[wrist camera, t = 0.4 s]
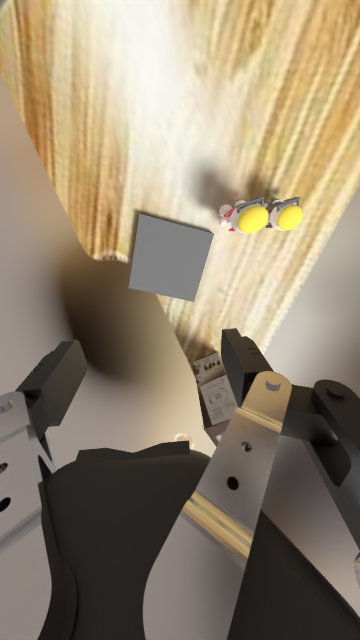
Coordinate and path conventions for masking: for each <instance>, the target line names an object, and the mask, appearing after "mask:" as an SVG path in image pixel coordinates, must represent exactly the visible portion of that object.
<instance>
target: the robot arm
mask: <svg viewBox="0 0 360 640" xmlns="http://www.w3.org/2000/svg"><path fill="white" fill-rule="evenodd" d="M221 359H222V363H223V366H224V369H225V371H226V374H227V377H228V380H229V382H230V385H231V388H232V391H233V393H234V396H235V399H236V402H237V404H238V407H237V408H236V410H235V412H234V414H233V416H232V418H231V420H230V422H229V424H228V426H227V428H226V430H225V432H224V434H223V436H222V438H221V440H220V442H219V444H218V446H217V448H216V450H215V452H214V454H213V456H212V458H210V457H209V456H207V455H205V454H203V453H201V452H198V451H195V450H190V447H189V441H179V442H168V443H161V444H158V445H155V446H152V447H149V448H146V449H144V450H141V451H138V452H135V453H130V452H125V451H119V450H114V449H109V448H99V449H88V450H79V453H78V455H77V458H76V461H73V462H71V463H69V464H67V465H65V466H63V467H61V468H60V469H58V470H57V467H56V464H55V460H54V457H53V453H52V450H51V447H50V443H49V439H48V436H47V434H46V430H47V428H48V427H51V426H59V425H60V424H61V421H62V420H63V418H64V416H65V414H66V411H67V410H68V408H69V406H70V404H71V402H72V399H73V398H74V396H75V393H76V392H77V390H78V388H79V385H80V384H81V382H82V380H83V378H84V376H85V373H86V370H87V363H86V360H85V357H84V354H83V351H82V348H81V345H80V343H79V341H77V340H72V341H62V342H61V343H60V344H59V345H58V347H57V348H56V349H55V350H54V351H52V352H50V353H49V354H47V355H46V356H45V357H43V359H42V360H41V361H40V362H39V363H38V366H36V367H35V368H34V369H33V371H32V372H31V373H30V374H29V375H28V376H27V378H26V379H25V380H24V381H23V382H22V384H21V385H20V386H19V387H18V388H17V389H16V391H15V392H9V393H6V394H4V395H1V396H0V640H360V617H359V616H358V615H357V613H356V612H355V611H354V609H353V608H352V607H351V606H350V605H349V604H348V602H347V601H346V600H345V599H344V598H343V597H342V596H341V595H340V593H339V592H338V591H337V590H336V589H335V588H334V587H333V586H332V585H331V584H330V583H329V582H328V581H327V579H326V578H325V577H324V576H323V575H322V574H321V573H320V572H319V571H318V570H317V569H316V568H315V566H314V565H313V564H312V563H311V562H310V561H309V560H308V559H307V558H306V557H305V556H304V555H303V554H302V552H301V551H299V549H298V548H297V547H296V546H295V545H294V544H293V543H292V542H291V541H290V540H289V538H288V537H287V536H286V535H285V534H284V533H283V532H282V531H281V530H280V529H279V528H278V527H277V525H276V524H275V523H274V522H273V521H272V520H271V519H270V518H269V517H268V516H267V515H266V514H265V513H264V511H263V510H262V509H261V505H262V501H263V497H264V494H265V490H266V486H267V482H268V479H269V475H270V471H271V467H272V463H273V459H274V456H275V452H276V448H277V444H278V440H279V436H280V435H285V436H289V437H293V438H297V439H302V441H303V443H304V445H305V446H306V449H307V450H308V452H309V454H310V456H311V458H312V460H313V462H314V464H315V466H316V468H317V469H318V471H319V473H320V475H321V477H322V479H323V481H324V483H325V485H326V487H327V488H328V491H329V492H330V494H331V496H332V498H333V500H334V502H335V504H336V505H337V508H338V510H339V511H340V513H341V515H342V517H343V519H344V521H345V523H346V525H347V527H348V529H349V531H350V533H351V534H352V536H353V538H354V540H355V542H356V544H357V546H358V548H359V550H360V398H359V397H358V396H357V395H356V394H355V393H354V392H353V391H352V390H351V389H350V388H348V387H347V386H345V385H343V384H341V383H339V382H335V381H332V380H319V381H317V382H316V383H315V385H314V388H309V387H303V386H297V385H292V384H291V383H290V382H289V380H288V379H287V378H285V377H284V376H283V375H281V374H279V373H276V372H274V371H273V370H272V368H271V367H270V365H269V364H268V362H267V361H266V359H265V358H264V356H263V355H262V354H261V352H260V350H259V349H258V347H257V345H256V344H255V342H254V341H253V340H251V339H250V338H248V337H247V336H245V337H241V335H240V334H239V332H238V330H237V329H236V328H234V329H223V330H222V340H221ZM354 565H355V566H354V568H355V575H356V579H357V582H358V584H359V587H360V552H359V553H358V554H357V556H356V558H355V563H354Z"/></svg>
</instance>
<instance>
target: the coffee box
mask: <svg viewBox="0 0 360 640" xmlns="http://www.w3.org/2000/svg"><path fill="white" fill-rule="evenodd" d="M193 365H194V371H195V377H196V382H197V388H198V394H199V400H200V406H201V412H202V418H203V424H204V430H205V431H206V433H207V434H208V435H209V437H210V438H211V440H212V441H213V443H214V444H215V445H216V447H217V446H218V444H219V442H220V440H221V438H222V436H223V434H224V432H225V430H226V428H227V426H228V424H229V422H230V420H231V418H232V416H233V414H234V412H235V410H236V408H237V407H238V404H237V402H236V399H235V396H234V393H233V391H232V388H231V385H230V382H229V380H228V377H227V374H226V371H225V369H224V366H223V363H222V359H221V357H220V355H219V353H218V352H217V353H215V354H212V355H209V356H207V357H204V358H202V359H199V360H197V361H194V362H193Z"/></svg>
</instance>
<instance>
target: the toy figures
mask: <svg viewBox="0 0 360 640" xmlns="http://www.w3.org/2000/svg"><path fill="white" fill-rule="evenodd" d="M264 198H265V197H258V198H255V199H252V200H251V201H250V202H245V201H243V200H239V201H237V202H236V203H235V205H234V208H232V206H230V205H228V204H226V205H223V206H221V208H220V209H219V214H220V216H221V217H222V218H221V219H220V220H219V225H221V226H223V225H226V224H227V223H231V226H232V228H231V229H229V231H237V232H240V233H253V232H256V231H258V230H260V229H261V228H262V227H263V226H264V225H265V224H266V222H267V221H270V223H268V224H269V225H267V226H266V228H272V227H274V228H275V229H277V230H291V229H293V228H295V227H296V226H297V225H298V224H299V223H300V221H301V219H302V210H301V208H300V207H299V200H300V197H295V198H292V199H287V200H284V202H281V201H280V200H275V201H273V202H272V204H271V205H268V204H267V203H264ZM257 202H261V204H259V203H257ZM294 202H297V205H296V204H295V203H294ZM270 209H271V210H272V211H271V212H270Z"/></svg>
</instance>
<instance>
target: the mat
mask: <svg viewBox="0 0 360 640" xmlns="http://www.w3.org/2000/svg"><path fill="white" fill-rule="evenodd" d="M213 236H214V234H213V233H210V232H206V231H202V230H199V229H195V228H191V227H187V226H184V225H180V224H176V223H173V222H169V221H165V220H162V219H158V218H154V217H150V216H147V215H143V214H139V219H138V226H137V233H136V240H135V247H134V254H133V261H132V268H131V276H130V282H129V288H131V289H136V290H141V291H146V292H150V293H155V294H160V295H165V296H169V297H174V298H179V299H184V300H188V301H193V302H194V300H195V296H196V293H197V290H198V286H199V283H200V279H201V276H202V273H203V269H204V266H205V263H206V259H207V256H208V252H209V249H210V246H211V242H212V239H213Z"/></svg>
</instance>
